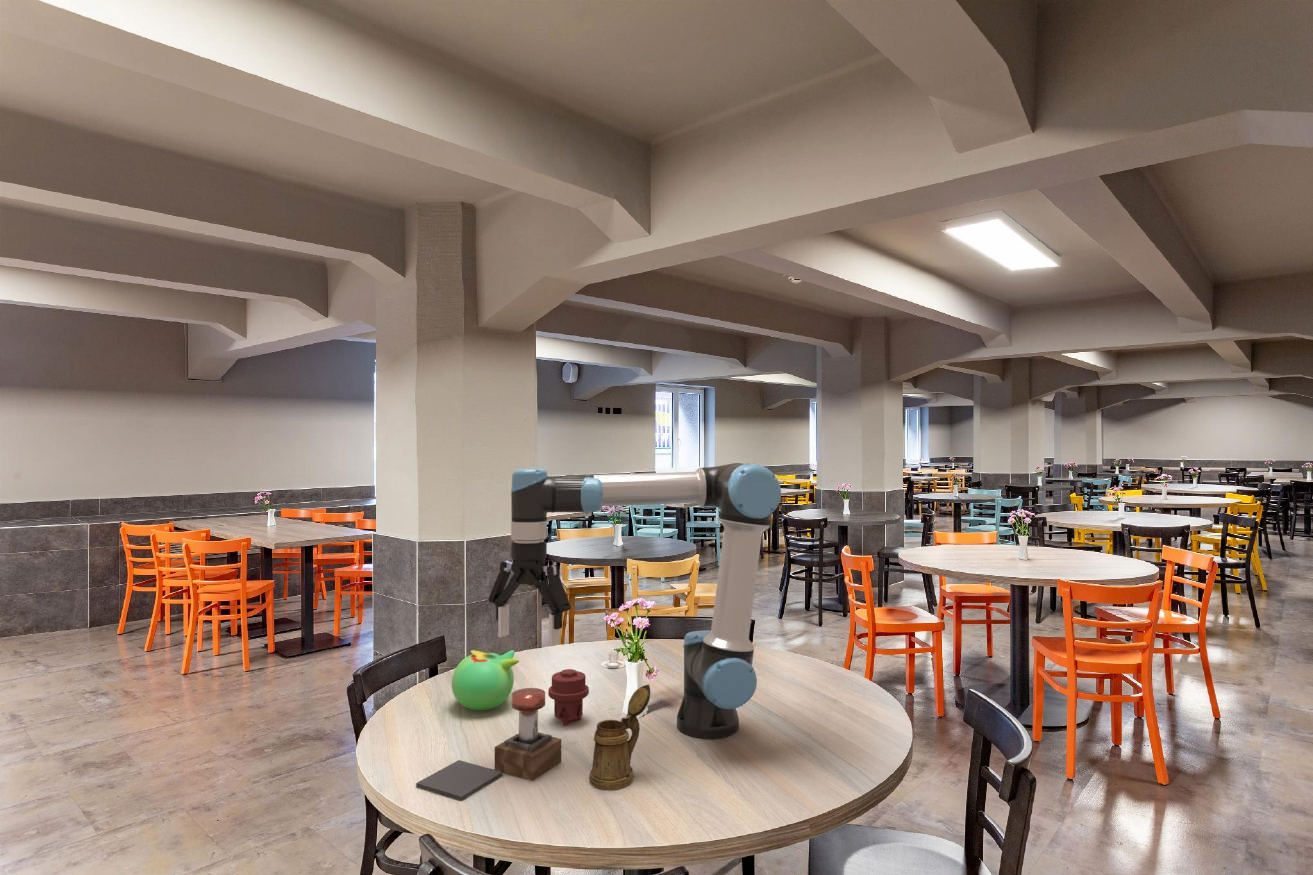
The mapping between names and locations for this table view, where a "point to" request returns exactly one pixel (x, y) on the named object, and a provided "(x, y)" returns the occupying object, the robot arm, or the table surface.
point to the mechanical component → (568, 695)
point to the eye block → (528, 756)
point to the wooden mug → (617, 745)
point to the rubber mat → (459, 780)
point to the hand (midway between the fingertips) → (528, 640)
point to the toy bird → (484, 679)
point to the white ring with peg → (613, 661)
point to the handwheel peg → (528, 712)
